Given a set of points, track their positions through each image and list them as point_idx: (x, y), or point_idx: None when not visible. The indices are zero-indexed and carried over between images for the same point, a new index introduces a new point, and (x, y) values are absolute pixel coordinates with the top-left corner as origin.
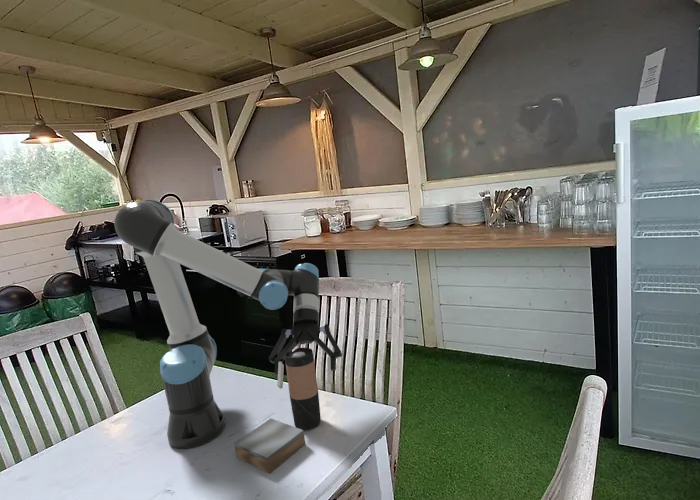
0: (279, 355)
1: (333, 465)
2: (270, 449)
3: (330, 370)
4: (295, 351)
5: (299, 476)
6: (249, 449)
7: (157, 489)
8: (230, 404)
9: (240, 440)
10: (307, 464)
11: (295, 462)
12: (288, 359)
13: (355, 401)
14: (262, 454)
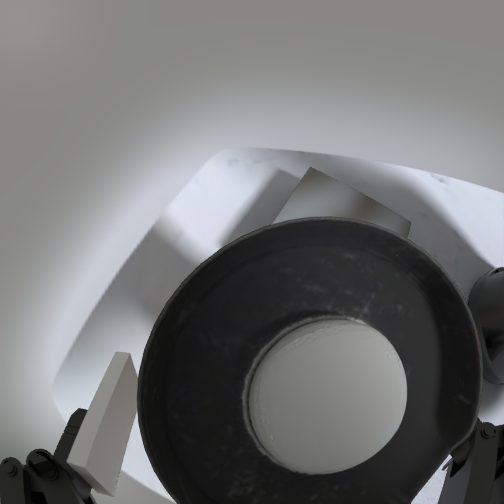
0: (489, 458)
1: (172, 203)
2: (315, 189)
3: (96, 393)
4: (396, 496)
5: (239, 179)
6: (365, 196)
7: (454, 185)
8: None
9: (404, 230)
10: (229, 208)
11: (258, 215)
12: (405, 249)
13: (132, 469)
14: (326, 176)
